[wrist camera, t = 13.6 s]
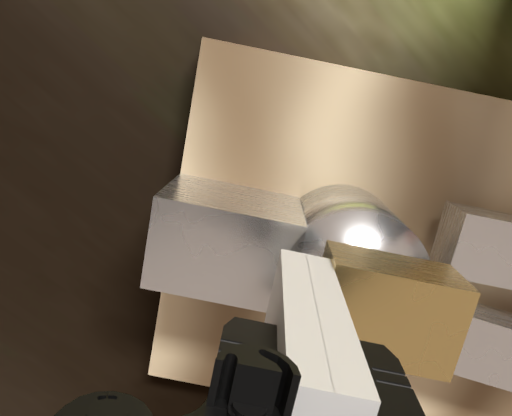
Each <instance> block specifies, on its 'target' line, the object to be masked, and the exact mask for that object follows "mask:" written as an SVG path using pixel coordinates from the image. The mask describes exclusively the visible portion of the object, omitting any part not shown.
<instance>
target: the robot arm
mask: <svg viewBox="0 0 512 416" xmlns="http://www.w3.org/2000/svg"><path fill="white" fill-rule="evenodd" d="M54 416H152V412H151V411H150V410H149V409H148V407H147V406H146V405H145V403H144V402H142V401H140V400H139V399H137V398H135V397H133V396H132V395H129V394H124V393H120V392H115V391H106V392H94V393H90V394H87V395H83V396H80V397H78V398H76V399H75V400H73V401H72V402H70V403H68V404H67V405H65V406H64V407H63V408H62V409H61V410H60V411H59V412H57V413H56V414H55V415H54ZM183 416H426V415H425V413H424V411H423V409H422V407H421V405H420V403H419V401H418V399H417V397H416V395H415V392H414V390H413V389H411V384H410V382H409V380H408V378H407V376H405V371H404V369H403V367H402V365H401V363H400V361H399V359H398V358H397V357H396V356H395V355H394V354H393V353H392V352H391V351H390V350H389V349H388V348H387V347H385V346H384V345H381V344H376V343H371V342H366V341H361V340H359V338H358V335H357V333H356V330H355V327H354V324H353V321H352V318H351V316H350V313H349V310H348V307H347V304H346V301H345V298H344V296H343V293H342V290H341V287H340V284H339V281H338V279H337V276H336V273H335V270H334V268H333V265H332V262H331V259H329V258H324V257H319V256H314V255H309V254H304V253H300V252H295V251H290V250H285V249H281V250H280V255H279V259H278V264H277V268H276V272H275V277H274V281H273V286H272V290H271V295H270V299H269V303H268V308H267V312H266V317H265V321H264V322H259V321H254V320H249V319H244V318H239V317H234V318H232V319H231V320H230V321H229V322H227V323H226V324H225V325H224V326H223V331H222V335H221V340H220V345H219V349H218V354H217V357H216V359H215V363H214V368H213V373H212V378H211V383H210V388H209V393H208V397H207V399H206V401H205V402H204V403H203V405H202V406H201V407H200V408H198V409H197V410H195V411H193V412H192V413H189V414H186V415H183Z"/></svg>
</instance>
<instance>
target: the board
mask: <svg viewBox="0 0 512 416" xmlns="http://www.w3.org/2000/svg"><path fill="white" fill-rule="evenodd" d="M180 173H182V174H187V175H192V176H197V177H202V178H207V179H212V180H217V181H222V182H227V183H232V184H237V185H242V186H247V187H252V188H257V189H262V190H267V191H272V192H277V193H282V194H287V195H292V196H297V197H299V198H301V197H302V196H304V195H305V194H307V193H309V192H310V191H312V190H315V189H317V188H320V187H324V186H327V185H335V184H344V185H351V186H355V187H359V188H361V189H364V190H366V191H368V192H370V193H371V194H373V195H374V196H376V197H377V198H378V199H379V200H380V201H381V202H383V203H384V204H385V205H386V206H387V207H388V208H389V209H390V210H391V211H392V212H393V213H394V214H395V215H396V216H397V217H398V218H399V219H400V220H401V221H402V222H403V223H404V224H405V225H406V226H407V227H408V228H409V229H410V230H411V231H412V232H413V233H414V234H415V235H416V236H417V237H418V238H419V240H420V241H421V242H422V244H423V245H424V247H425V249H426V251H427V253H428V255H429V254H430V251H431V248H432V244H433V241H434V238H435V235H436V231H437V228H438V225H439V222H440V218H441V215H442V212H443V209H444V205H445V202H446V201H449V202H454V203H459V204H464V205H469V206H474V207H479V208H484V209H489V210H494V211H499V212H504V213H509V214H512V101H511V100H506V99H501V98H497V97H492V96H487V95H482V94H477V93H472V92H467V91H463V90H458V89H453V88H448V87H443V86H438V85H433V84H429V83H424V82H419V81H414V80H409V79H404V78H399V77H395V76H390V75H385V74H380V73H375V72H370V71H365V70H361V69H356V68H351V67H346V66H341V65H336V64H331V63H327V62H322V61H317V60H312V59H307V58H302V57H297V56H293V55H288V54H283V53H278V52H273V51H268V50H263V49H259V48H254V47H249V46H244V45H239V44H234V43H229V42H225V41H220V40H215V39H210V38H205V37H202V41H201V47H200V53H199V60H198V66H197V72H196V78H195V85H194V91H193V97H192V103H191V110H190V116H189V122H188V128H187V134H186V141H185V147H184V153H183V159H182V166H181V172H180ZM430 261H431V260H430ZM468 282H469V281H468ZM469 283H470V284H471V285H473V286H474V287H475V288H476V289H477V290H478V291H479V292H480V293H481V295H480V298H479V301H478V303H481V304H484V305H487V306H490V307H494V308H497V309H500V310H503V311H507V312H510V313H512V290H509V289H504V288H499V287H494V286H489V285H484V284H479V283H474V282H469ZM234 317H239V318H244V319H249V320H254V321H259V322H264V321H265V317H266V313H265V312H259V311H254V310H249V309H244V308H239V307H234V306H229V305H224V304H219V303H214V302H209V301H204V300H198V299H193V298H188V297H183V296H178V295H173V294H168V293H163V292H161V297H160V303H159V309H158V315H157V321H156V328H155V334H154V340H153V346H152V353H151V359H150V365H149V371H148V375H152V376H157V377H162V378H167V379H172V380H178V381H183V382H188V383H193V384H198V385H203V386H208V387H210V383H211V378H212V373H213V368H214V363H215V359H216V357H217V354H218V349H219V345H220V340H221V335H222V331H223V326H224V325H225V324H226V323H227V322H229V321H230V320H231V319H232V318H234ZM405 376H407V378H408V380H409V382H410V384H411V389H413V390H414V392H415V395H416V397H417V399H418V401H419V403H420V405H421V407H422V409H423V411H424V413H425V415H426V416H512V392H510V391H506V390H503V389H500V388H496V387H493V386H490V385H486V384H483V383H480V382H476V381H473V380H470V379H466V378H463V377H460V376H456V375H453V377H452V380H451V383H449V382H444V381H439V380H434V379H429V378H423V377H418V376H413V375H408V374H405Z"/></svg>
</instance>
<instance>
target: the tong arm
mask: <svg viewBox="0 0 512 416" xmlns="http://www.w3.org/2000/svg"><path fill="white" fill-rule="evenodd" d="M453 375H456V376H460V377H463V378H466V379H470V380H473V381H476V382H480V383H483V384H486V385H490V386H493V387H496V388H500V389H503V390H506V391H510V392H512V313H510V312H507V311H503V310H500V309H497V308H494V307H490V306H487V305H484V304H481V303H478V304H477V307H476V309H475V312H474V315H473V318H472V321H471V324H470V327H469V330H468V333H467V336H466V339H465V342H464V345H463V348H462V350H461V353H460V356H459V359H458V362H457V365H456V368H455V371H454V374H453Z"/></svg>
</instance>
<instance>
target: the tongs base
mask: <svg viewBox="0 0 512 416" xmlns="http://www.w3.org/2000/svg"><path fill="white" fill-rule="evenodd" d="M327 240H330V241H335V242H340V243H345V244H350V245H355V246H360V247H365V248H370V249H375V250H380V251H385V252H390V253H395V254H400V255H405V256H410V257H415V258H420V259H425V260H431V261H435V262H440V263H445V264H450V265H452V266H453V267H454V268H455V269H456V270H457V271H458V272H459V273H460V274H461V275H462V276H463V277H464V278H465V279H466V280H467V281H469V282H474V283H479V284H484V285H489V286H494V287H499V288H504V289H509V290H512V214H509V213H504V212H499V211H494V210H489V209H484V208H479V207H474V206H469V205H464V204H459V203H454V202H449V201H446V202H445V205H444V209H443V212H442V215H441V218H440V222H439V225H438V228H437V231H436V235H435V238H434V241H433V244H432V248H431V251H430V254H429V255H428V253H427V251H426V249H425V247H424V245H423V244H422V242H421V241H420V240H419V238H418V237H417V236H416V235H415V234H414V233H413V232H412V231H411V230H410V229H409V228H408V227H407V226H406V225H405V224H404V223H403V222H402V221H401V220H400V219H399V218H398V217H397V216H396V215H395V214H394V213H393V212H392V211H391V210H390V209H389V208H388V207H387V206H386V205H385V204H384V203H383V202H381V201H380V200H379V199H378V198H377V197H376V196H374V195H373V194H371V193H370V192H368V191H366V190H364V189H361V188H359V187H355V186H351V185H344V184H335V185H327V186H324V187H320V188H317V189H315V190H312V191H310V192H309V193H307V194H305V195H304V196H302V197H301V198H299V197H297V196H292V195H287V194H282V193H277V192H272V191H267V190H262V189H257V188H252V187H247V186H242V185H237V184H232V183H227V182H222V181H217V180H212V179H207V178H202V177H197V176H192V175H187V174H182V173H180V174H179V175H178V176H176V177H175V178H174V179H173V180H172V181H171V182H169V183H168V184H167V185H166V186H165V187H164V188H163V189H161V190H160V191H159V192H158V193H157V194H156V195H154V196H153V203H152V209H151V216H150V223H149V230H148V236H147V243H146V250H145V257H144V263H143V270H142V277H141V284H140V288H143V289H148V290H153V291H158V292H163V293H168V294H173V295H178V296H183V297H188V298H193V299H198V300H204V301H209V302H214V303H219V304H224V305H229V306H234V307H239V308H244V309H249V310H254V311H259V312H265V313H266V312H267V308H268V303H269V299H270V295H271V290H272V286H273V281H274V277H275V272H276V268H277V264H278V259H279V255H280V250H281V249H285V250H290V251H295V252H300V253H304V254H309V255H314V256H319V257H323V253H324V249H325V245H326V241H327Z"/></svg>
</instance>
